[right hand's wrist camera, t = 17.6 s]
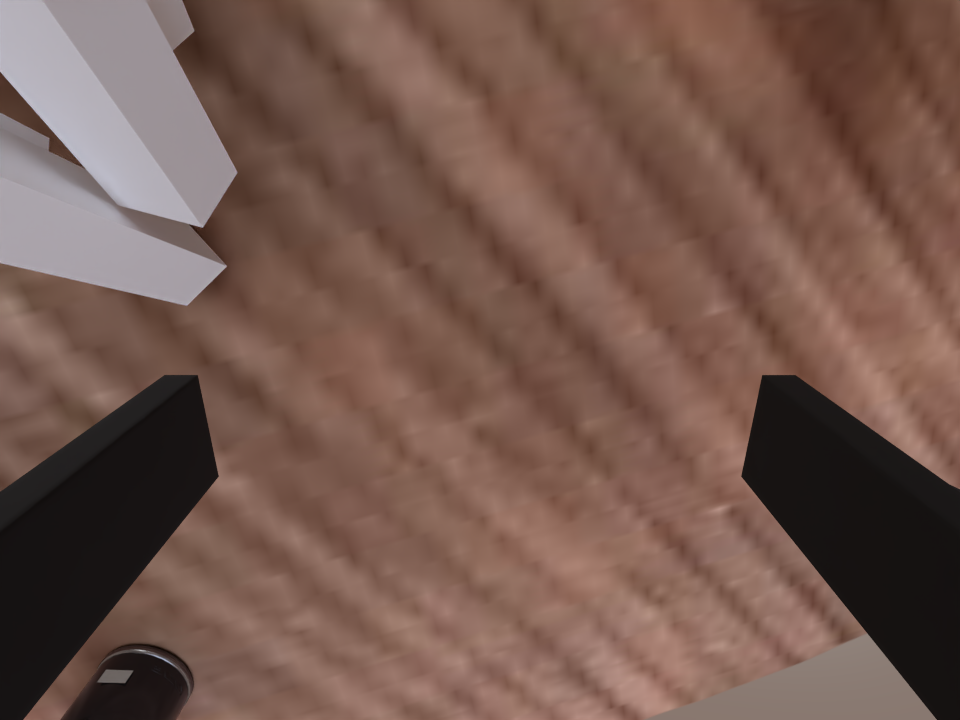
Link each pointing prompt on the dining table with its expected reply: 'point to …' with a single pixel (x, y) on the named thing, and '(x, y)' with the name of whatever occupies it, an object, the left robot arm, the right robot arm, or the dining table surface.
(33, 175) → the pile of blocks
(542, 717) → the dining table surface
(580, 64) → the dining table surface
